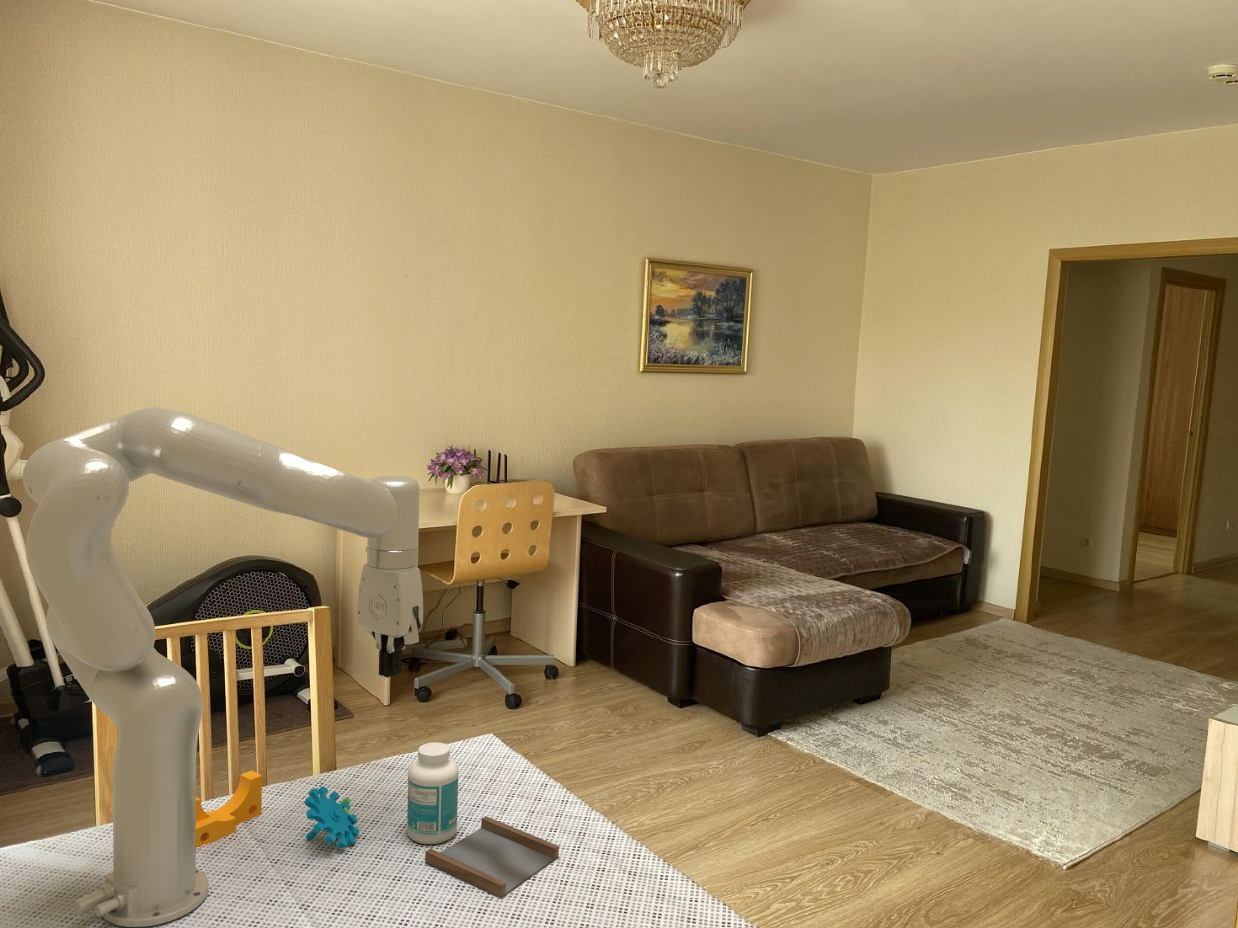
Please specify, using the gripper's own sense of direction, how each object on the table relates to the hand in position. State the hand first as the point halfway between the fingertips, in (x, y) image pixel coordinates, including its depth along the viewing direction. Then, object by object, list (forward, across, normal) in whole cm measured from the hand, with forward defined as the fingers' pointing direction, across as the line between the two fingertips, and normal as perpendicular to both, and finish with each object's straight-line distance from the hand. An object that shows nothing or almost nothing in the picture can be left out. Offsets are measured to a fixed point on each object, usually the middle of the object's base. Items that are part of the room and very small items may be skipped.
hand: (390, 673), depth 143 cm
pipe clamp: (+23, -15, -18) cm, 33 cm away
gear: (+23, 0, -10) cm, 25 cm away
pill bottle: (+23, +10, 0) cm, 25 cm away
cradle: (+23, +22, 0) cm, 31 cm away
